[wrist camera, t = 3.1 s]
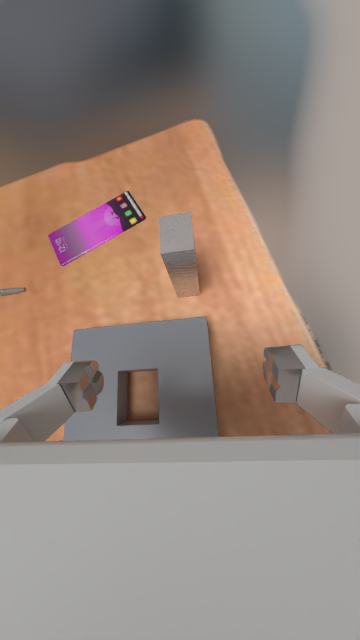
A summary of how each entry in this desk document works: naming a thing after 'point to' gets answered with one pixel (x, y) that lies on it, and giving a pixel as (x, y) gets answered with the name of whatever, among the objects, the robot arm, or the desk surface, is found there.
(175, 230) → the grey square post
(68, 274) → the desk surface
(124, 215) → the smartphone
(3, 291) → the toy airplane
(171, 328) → the block
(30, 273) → the desk surface
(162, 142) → the desk surface
